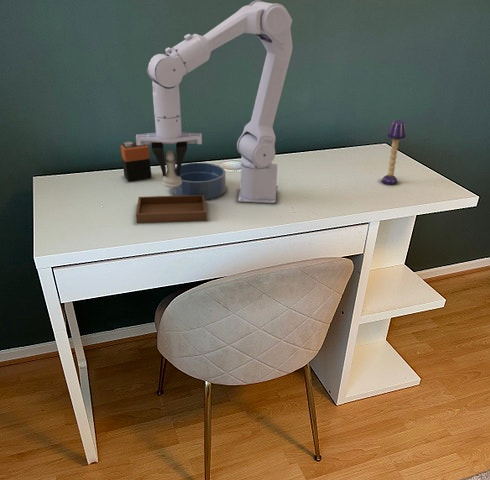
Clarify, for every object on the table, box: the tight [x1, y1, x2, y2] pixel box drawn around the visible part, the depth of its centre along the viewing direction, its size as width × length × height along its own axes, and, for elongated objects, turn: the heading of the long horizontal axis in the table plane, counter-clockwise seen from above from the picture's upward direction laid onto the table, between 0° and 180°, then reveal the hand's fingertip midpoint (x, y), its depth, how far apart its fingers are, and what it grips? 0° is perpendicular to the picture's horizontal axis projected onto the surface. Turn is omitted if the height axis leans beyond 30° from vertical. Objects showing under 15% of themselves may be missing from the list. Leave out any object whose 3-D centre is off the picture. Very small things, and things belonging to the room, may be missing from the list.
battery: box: [120, 141, 152, 182], centre depth 137 cm, size 4×7×10 cm, turn 115°
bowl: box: [170, 162, 227, 200], centre depth 132 cm, size 14×14×5 cm
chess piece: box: [161, 150, 182, 188], centre depth 116 cm, size 5×5×8 cm
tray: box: [135, 195, 208, 224], centre depth 121 cm, size 16×10×2 cm, turn 97°
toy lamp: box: [381, 119, 406, 186], centre depth 136 cm, size 5×5×17 cm
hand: (171, 174), depth 117 cm, fingers closed on chess piece, 3 cm apart
